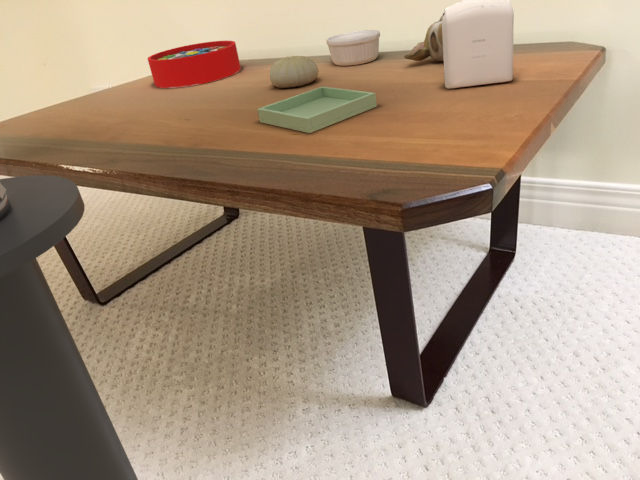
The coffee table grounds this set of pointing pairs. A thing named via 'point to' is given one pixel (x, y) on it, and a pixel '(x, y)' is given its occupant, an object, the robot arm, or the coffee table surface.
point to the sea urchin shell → (293, 72)
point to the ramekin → (354, 47)
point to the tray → (317, 108)
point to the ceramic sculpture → (429, 44)
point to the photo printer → (478, 43)
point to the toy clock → (194, 64)
